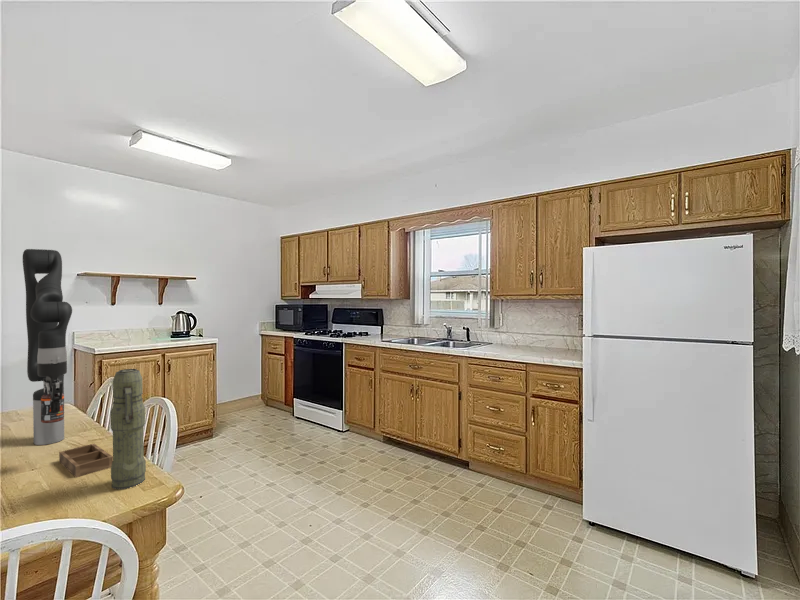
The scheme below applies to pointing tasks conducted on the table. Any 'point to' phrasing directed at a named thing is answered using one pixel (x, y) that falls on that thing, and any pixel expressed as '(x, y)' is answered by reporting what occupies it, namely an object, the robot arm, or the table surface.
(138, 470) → the thermos
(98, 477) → the table surface
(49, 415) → the supplement bottle
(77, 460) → the wooden divided tray
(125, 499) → the table surface
